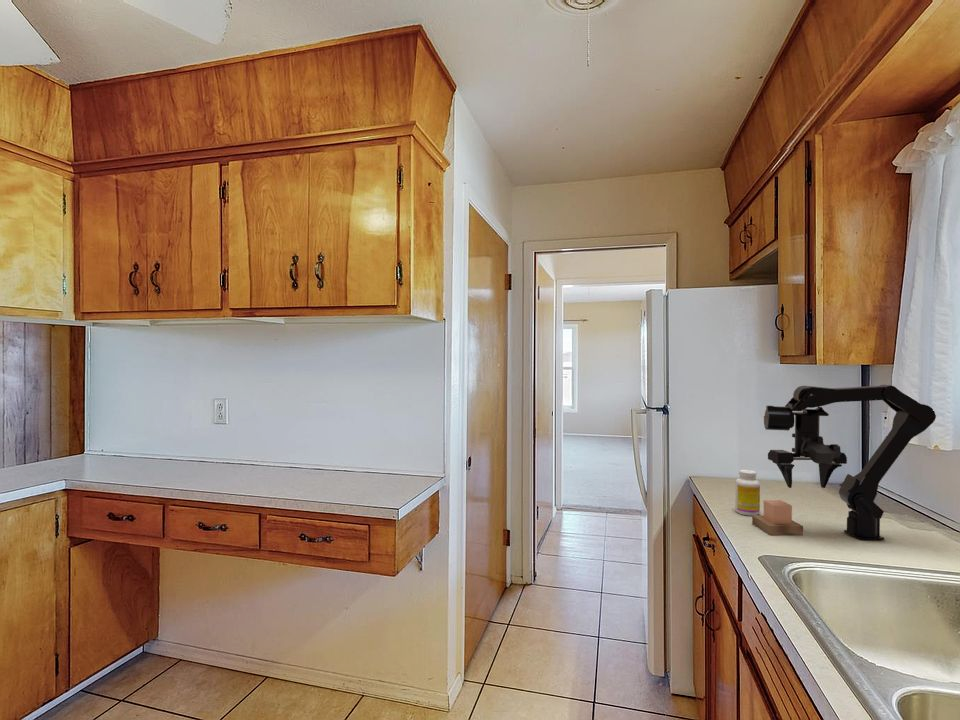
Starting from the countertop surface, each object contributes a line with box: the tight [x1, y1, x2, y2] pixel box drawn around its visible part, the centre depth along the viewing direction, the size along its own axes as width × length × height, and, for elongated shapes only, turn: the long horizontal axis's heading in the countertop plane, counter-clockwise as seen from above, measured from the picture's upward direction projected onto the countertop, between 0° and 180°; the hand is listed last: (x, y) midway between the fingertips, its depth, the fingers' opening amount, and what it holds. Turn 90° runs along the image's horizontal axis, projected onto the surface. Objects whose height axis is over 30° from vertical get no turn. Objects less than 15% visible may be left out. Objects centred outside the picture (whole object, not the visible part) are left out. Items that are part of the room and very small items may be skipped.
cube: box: [762, 499, 793, 524], centre depth 144 cm, size 5×5×5 cm
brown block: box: [751, 515, 804, 536], centre depth 144 cm, size 9×9×2 cm
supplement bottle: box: [735, 469, 761, 517], centre depth 159 cm, size 7×7×13 cm
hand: (806, 487), depth 143 cm, fingers open, 9 cm apart
